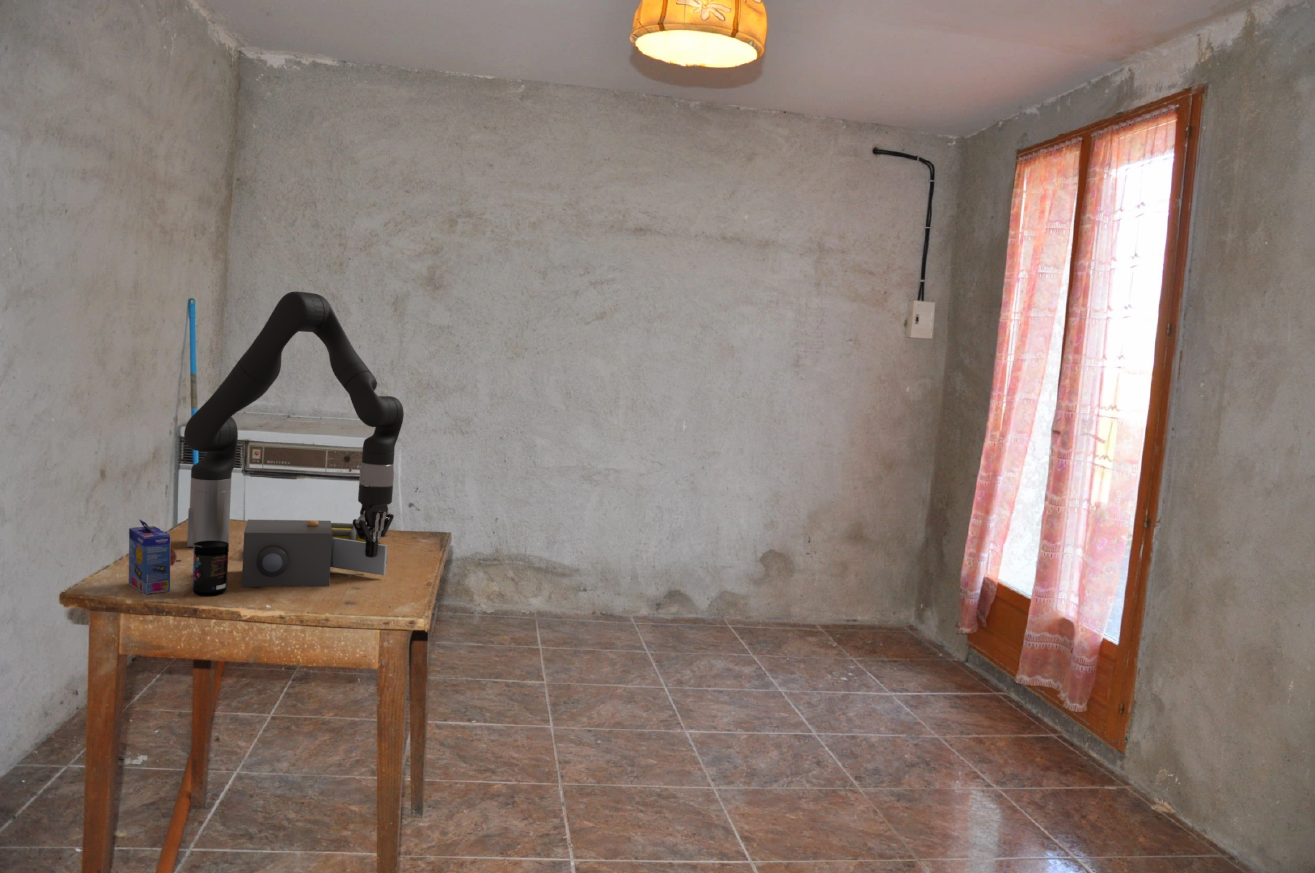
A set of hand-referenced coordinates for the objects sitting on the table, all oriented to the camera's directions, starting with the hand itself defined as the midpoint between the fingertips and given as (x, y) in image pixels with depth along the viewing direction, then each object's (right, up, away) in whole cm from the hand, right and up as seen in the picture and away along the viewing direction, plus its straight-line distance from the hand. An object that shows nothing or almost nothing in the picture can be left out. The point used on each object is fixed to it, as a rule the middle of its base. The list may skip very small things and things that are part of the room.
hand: (370, 556), depth 218 cm
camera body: (-18, -5, -5) cm, 19 cm away
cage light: (-19, -3, +19) cm, 27 cm away
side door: (-4, -4, +4) cm, 7 cm away
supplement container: (-28, -5, -19) cm, 35 cm away
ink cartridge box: (-41, -4, -20) cm, 46 cm away
